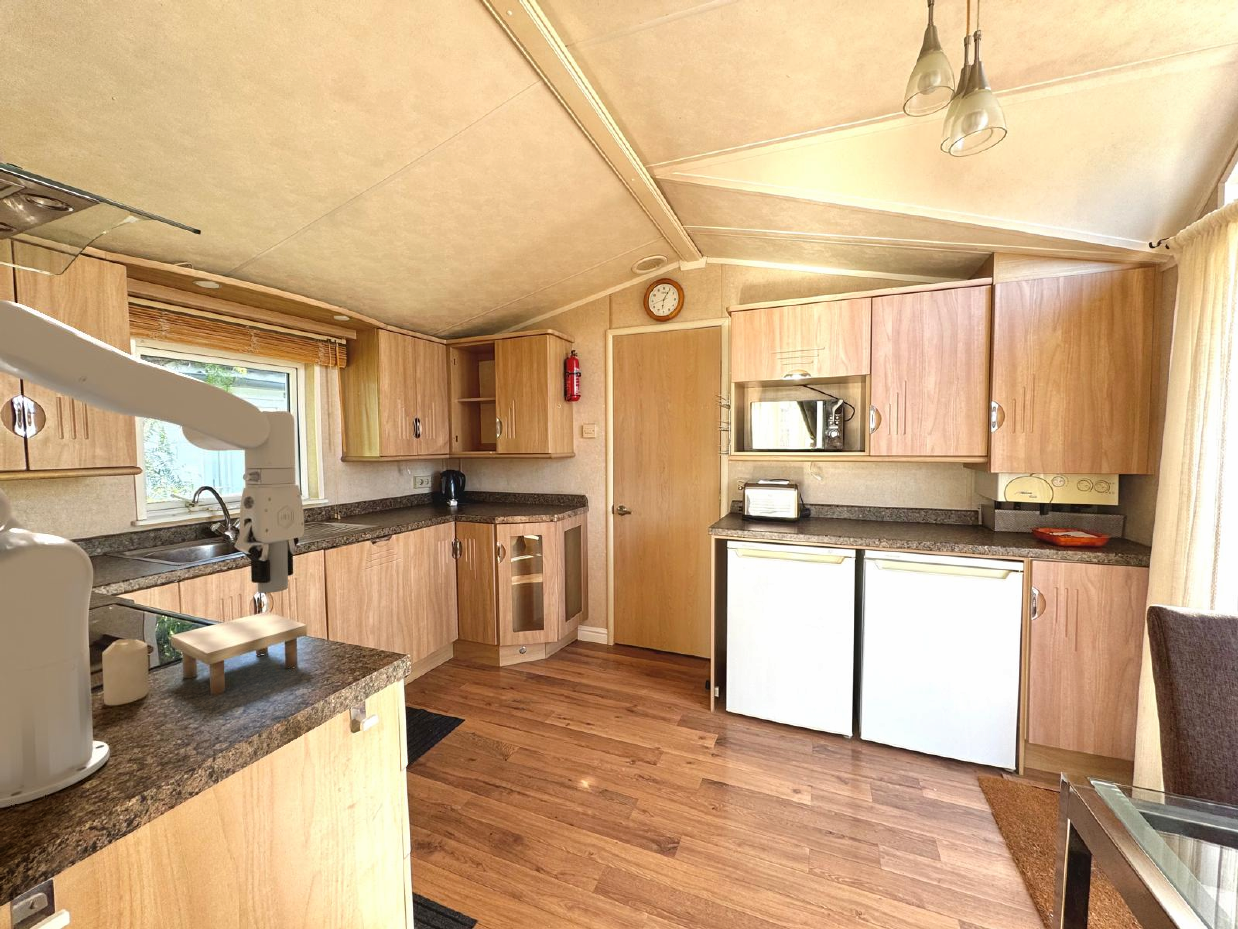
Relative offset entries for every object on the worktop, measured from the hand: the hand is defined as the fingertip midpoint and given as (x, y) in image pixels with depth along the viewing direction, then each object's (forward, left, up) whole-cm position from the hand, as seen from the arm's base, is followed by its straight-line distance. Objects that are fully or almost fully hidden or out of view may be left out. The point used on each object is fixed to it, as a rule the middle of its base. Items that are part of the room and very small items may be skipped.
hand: (272, 577), depth 92 cm
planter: (0, 0, -2) cm, 2 cm away
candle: (-16, +15, -19) cm, 30 cm away
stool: (-1, +10, -19) cm, 22 cm away
